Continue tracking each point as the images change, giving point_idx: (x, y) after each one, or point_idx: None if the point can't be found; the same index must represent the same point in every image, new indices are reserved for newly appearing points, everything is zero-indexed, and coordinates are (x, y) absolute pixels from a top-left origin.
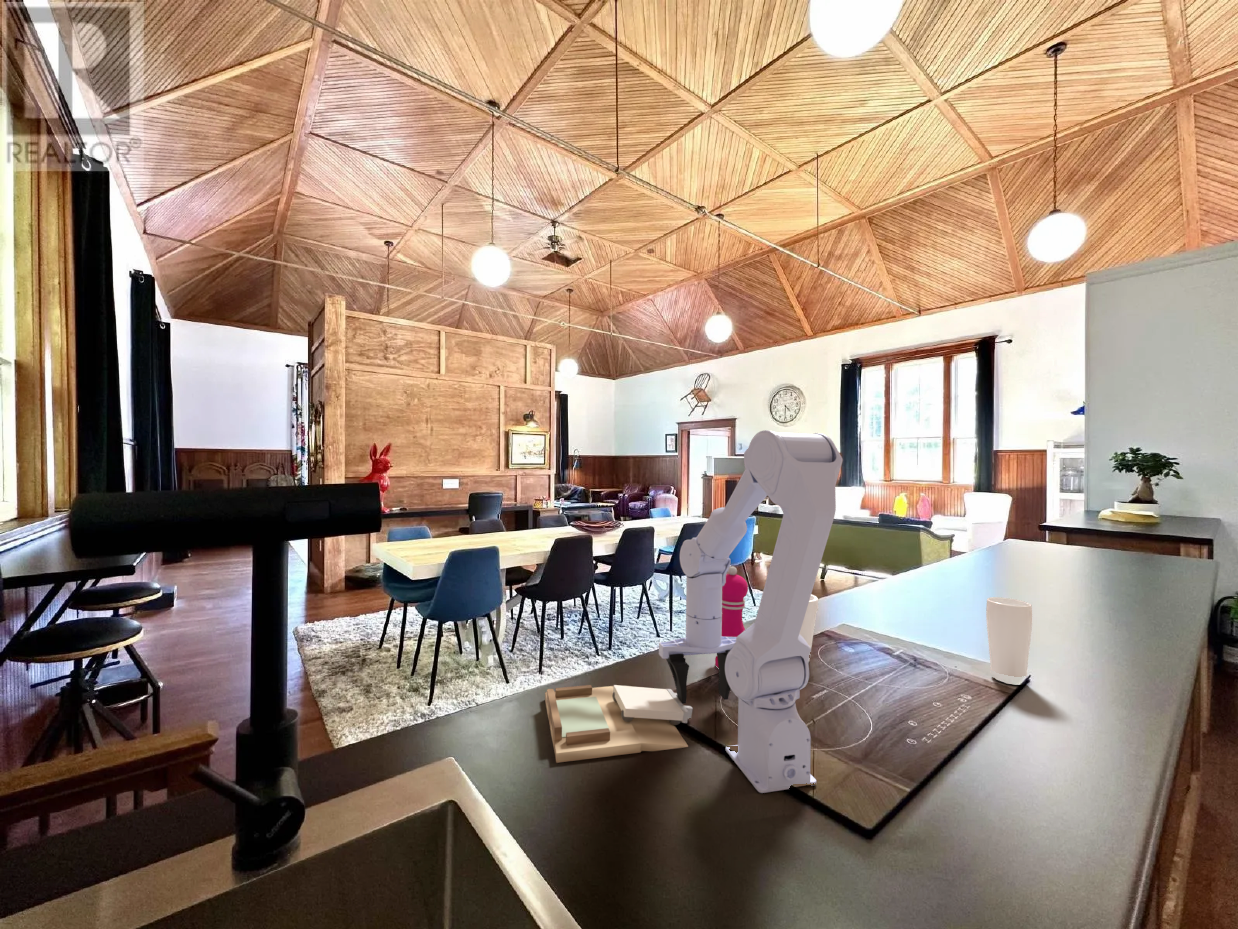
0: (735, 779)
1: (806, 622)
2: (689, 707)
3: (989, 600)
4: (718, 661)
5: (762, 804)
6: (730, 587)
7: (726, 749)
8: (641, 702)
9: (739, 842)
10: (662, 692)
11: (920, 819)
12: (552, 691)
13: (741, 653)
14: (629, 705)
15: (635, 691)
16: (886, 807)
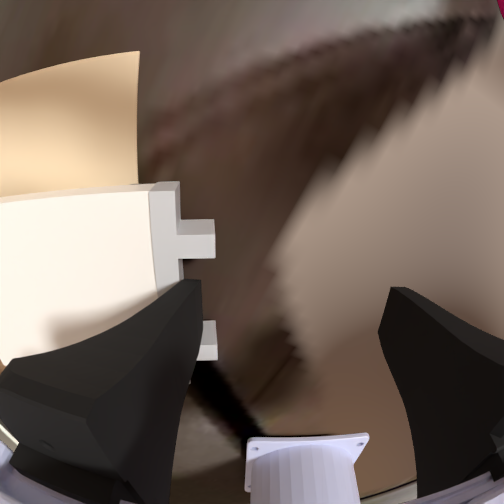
0: (227, 469)
1: None
2: (207, 354)
3: None
4: (476, 362)
5: (239, 491)
6: None
7: (247, 445)
8: (32, 334)
9: (186, 500)
10: (115, 236)
11: (384, 496)
12: None
13: None
14: (6, 352)
15: (7, 251)
16: (373, 493)
